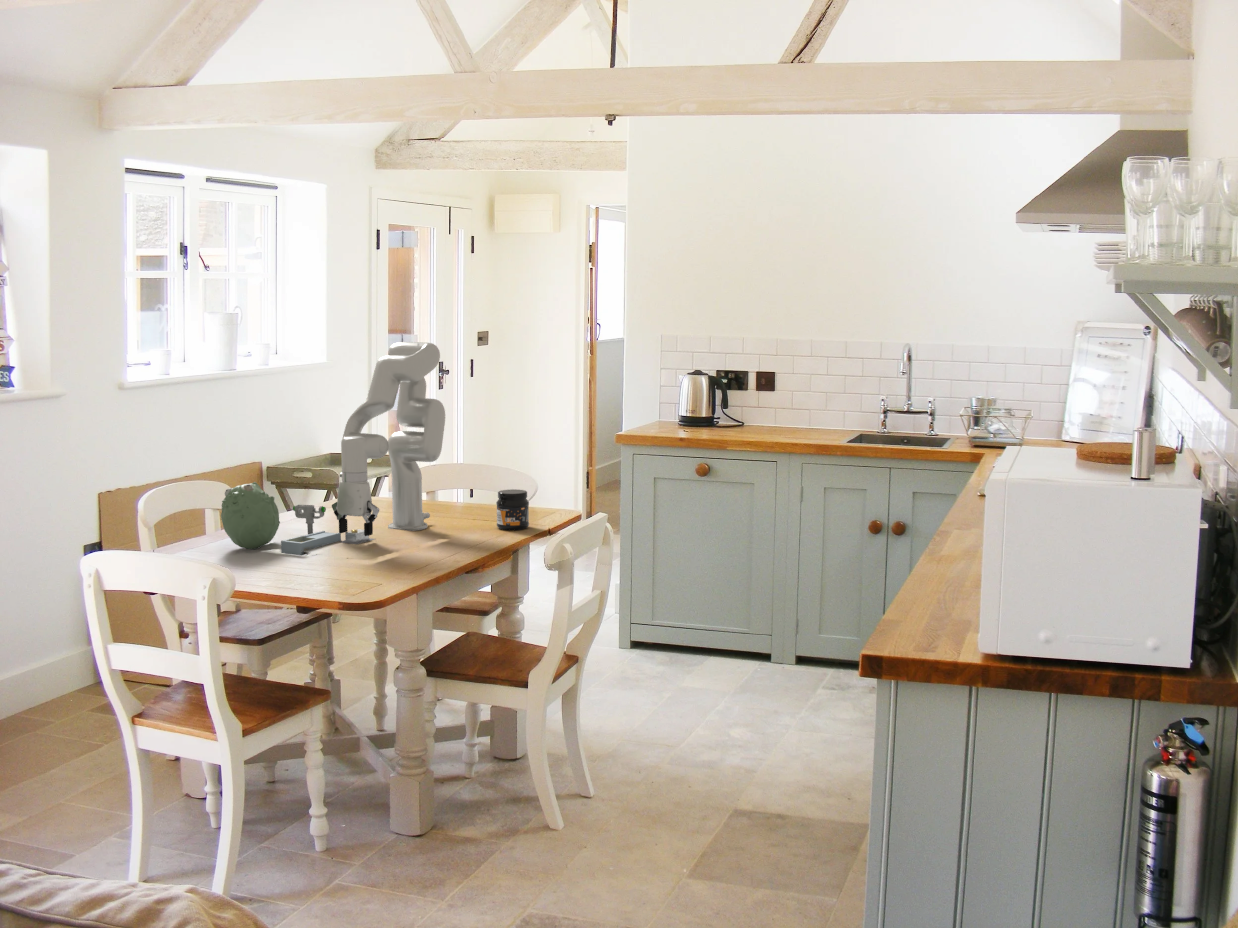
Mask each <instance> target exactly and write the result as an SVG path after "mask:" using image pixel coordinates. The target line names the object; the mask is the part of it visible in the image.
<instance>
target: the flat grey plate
mask: <svg viewBox="0 0 1238 928" xmlns="http://www.w3.org/2000/svg"><path fill="white" fill-rule="evenodd" d="M374 540H375V538H373V537H372V538H371V537H369V539H368V540H365V541H361V542H357V543H353V542H346V539H344V540H341V541H339V543H342V544H352V545H359V544H364V543H367V542H370V541H374Z"/></svg>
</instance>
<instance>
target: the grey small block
mask: <svg viewBox="0 0 1238 928" xmlns="http://www.w3.org/2000/svg"><path fill="white" fill-rule="evenodd" d="M344 533H345V534H344V535H345V539H344V540H346V542H353V543H357V542H361V541H365V540H368V539H369V538H370V535H369V536H365V535H364V529H361V528H360V529H359V528H357V529H351V530H350V531H347V532H344Z"/></svg>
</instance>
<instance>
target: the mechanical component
mask: <svg viewBox="0 0 1238 928" xmlns="http://www.w3.org/2000/svg"><path fill="white" fill-rule="evenodd" d="M318 507H319V508H318V510H316V507H315V505H313V504H297V505H293V507H292V511H293V512H294V515H295V517H296V518H297V519H305V524H306V525H307V535H309V534H313V533H314V529H313V527H314V526H313V524H315V520H318V519H321V518H324V517H325V513H326V510H327V508H326V507H325V506H323V505H321V506H318ZM316 514H319V515H316Z"/></svg>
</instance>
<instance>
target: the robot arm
mask: <svg viewBox="0 0 1238 928" xmlns="http://www.w3.org/2000/svg"><path fill="white" fill-rule="evenodd" d="M440 359H441V353H440V349H439V347H438V346H437V345H436V344H435V343H432V342H415V341H414V342H413V341H400V342H395V343H393V344H391V345H390V346H389V348H388V355H384V356H381V357H379V358H378V360H377V361H376V364H375V368H374V372H373V375H372V379H371V382H370V386H369V390H368V393H367V398H366V400H365V401H363V403H361V404H360V405H359V406H358V407H357V408H356V409H355V410H354V411H353V413H352V414H351V415H350V416H349V418H348V420H347V422H346V424H345V426H344V427H345V428H344V431H343V434H342V439H341V441H340V447H341V448H340V449H341V450H340V451H341V453H340V454H341V455H340V456H341V458H340V459H341V472H340V473H339V477H340V478H341V481H340V482H339V484H338V488H337V489H338V490H337V501H335V502H334V503H332V504H331V509H332V510H333V514H334V515H335V517H336V520H337V521H338V533H341V534H344V533H345V532H349V531H348V519H347V517H348V516H349V517H351V516H352V517H362V519H363V520H364V524H363V530H364V535H365V536H369V537H370V536H372V535H373V532H374V531H373V530H374V526H373V524H374V522H375V520H376V519H377V518H378V514H379V512H380V508H379V507H378V506H377V505H375V504H374V503H373V502H372V501H373V500H372V492H371V486H370V485H371V484H370V482H369V481H368V459H370V460H371V459H373V460H374V459H375V460H377V459H382V458H384V457H385V456H386V454H387V453H388V456H389V461H390V468H391V469H390V471H391V500H392V505H391V506H392V507H391V508H392V522H390V523H388V524H387V528H388V529H389V530H390V529H391V530H399V531H406V532H407V531H410V532H416V531H417V532H418V531H422V530H426V529H428V523H427V522H425V520H427V519H429V518H430V517H431V514H430V512H423V486H422V485H423V483H422V482H423V481H422V480H423V479H422V478H423V477H422V476H423V475H422V471H421V469H420V467H419V464H418V462H419V463H420V462H422V463H423V462H424V463H432V462H436V461H437V460H438V459H439V458H440V456H441V452H442V448H443V443H444V442H443V441H444V440H443V439H444V432H445V425H446V409H445V406H444V404H443V403H442V402H441V400H438V399H435V398H426V397H427V395H426V394H427V382H426V379H425V377H426V376H427V375H428V374H430V373H431V372H433V371H434V369H436V368H437V366H438V364H439V363H440ZM397 395H398V400H397ZM396 400H397V407H396V421H397V423H398V424H399V425H400V426H402V427H405V428H406V427H407V428H418V429H419V428H420V429H423V431H414V430H413V431H412V430H400V431H395V432H393V433H391V435H389V438H388V440H387V438H386V437H385V436H383V435H381V434H377V433H376V434H375V433H363V432H362V430H363V429H364V427H365V426H366V425H367V423H368V422H370V421H371V420H373V419H374V418H376V417H379V416H381V415H383V414H385V413H387V412H389V411H390V410H393V408H394V407H395V403H396Z"/></svg>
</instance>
